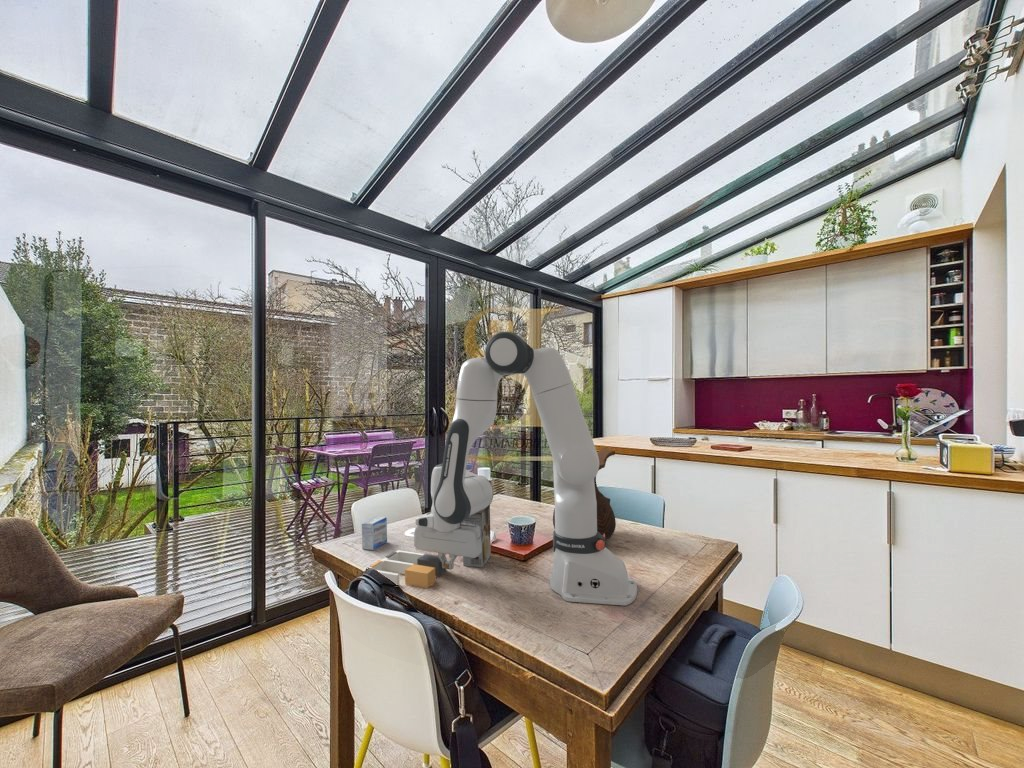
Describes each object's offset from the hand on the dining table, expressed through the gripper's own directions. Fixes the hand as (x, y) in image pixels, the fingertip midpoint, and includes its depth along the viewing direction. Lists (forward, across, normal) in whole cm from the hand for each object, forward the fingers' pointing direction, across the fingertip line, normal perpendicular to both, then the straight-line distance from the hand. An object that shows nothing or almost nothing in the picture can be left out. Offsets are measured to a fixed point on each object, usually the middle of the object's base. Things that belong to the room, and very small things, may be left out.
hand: (447, 568), depth 124 cm
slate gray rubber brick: (+2, +5, 0) cm, 6 cm away
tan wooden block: (+2, +4, +7) cm, 8 cm away
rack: (+2, +14, +4) cm, 15 cm away
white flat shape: (+2, +14, -30) cm, 33 cm away
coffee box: (+2, -4, -12) cm, 12 cm away
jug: (+2, -31, -40) cm, 50 cm away
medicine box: (+2, +34, -11) cm, 36 cm away
